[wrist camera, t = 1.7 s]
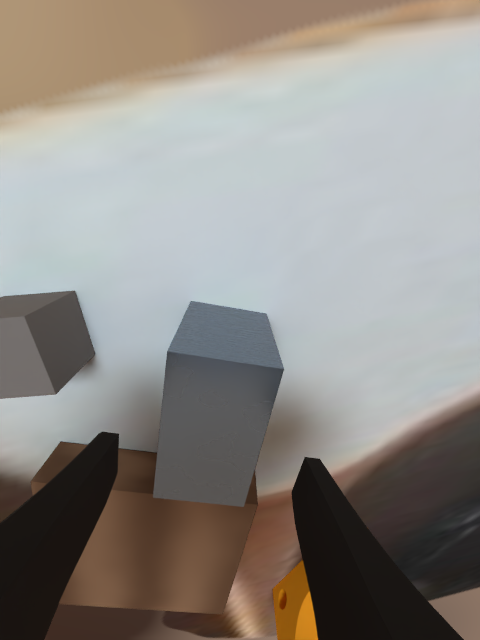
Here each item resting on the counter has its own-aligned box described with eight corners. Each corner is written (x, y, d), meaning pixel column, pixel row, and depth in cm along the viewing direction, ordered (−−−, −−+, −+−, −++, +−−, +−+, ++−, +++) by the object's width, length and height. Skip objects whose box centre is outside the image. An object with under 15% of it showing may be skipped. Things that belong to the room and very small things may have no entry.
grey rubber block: (31, 358, 16) (-28, 400, 13) (4, 295, 15) (-71, 323, 11) (95, 353, 16) (56, 394, 13) (75, 290, 15) (24, 316, 11)
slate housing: (175, 423, 19) (151, 513, 13) (191, 300, 15) (167, 351, 10) (237, 431, 19) (239, 522, 14) (266, 313, 16) (283, 369, 10)
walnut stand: (69, 558, 24) (48, 603, 21) (60, 441, 19) (30, 481, 16) (223, 569, 25) (222, 614, 23) (254, 464, 20) (257, 504, 17)
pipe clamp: (307, 596, 28) (328, 702, 22) (272, 586, 27) (283, 694, 21) (382, 531, 24) (431, 637, 18) (343, 517, 23) (381, 624, 17)
